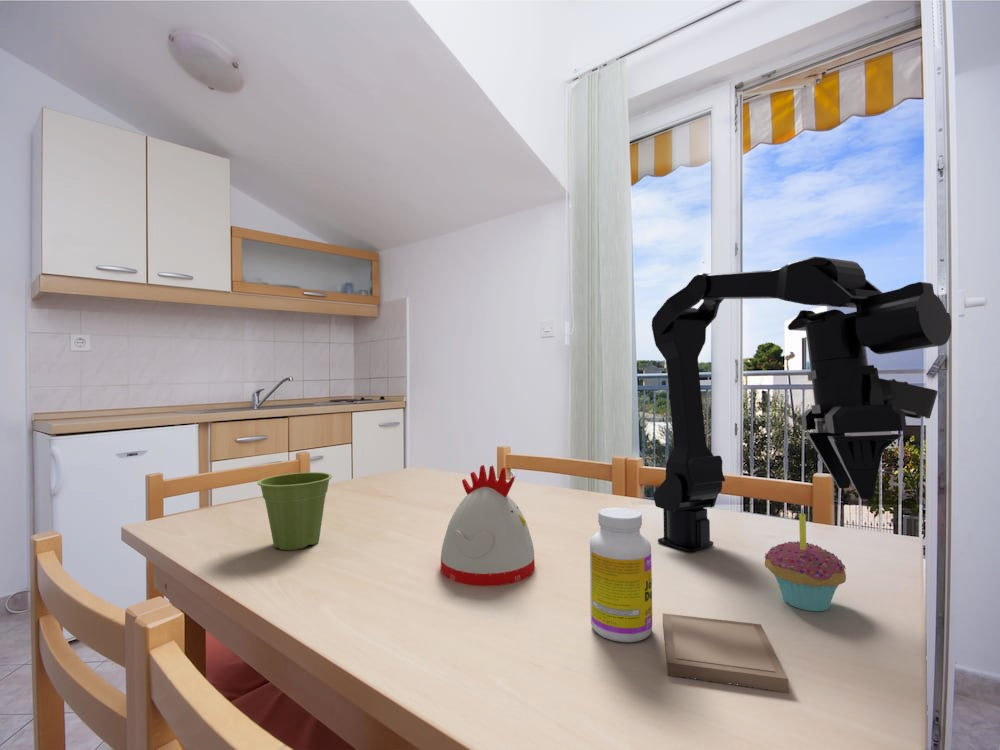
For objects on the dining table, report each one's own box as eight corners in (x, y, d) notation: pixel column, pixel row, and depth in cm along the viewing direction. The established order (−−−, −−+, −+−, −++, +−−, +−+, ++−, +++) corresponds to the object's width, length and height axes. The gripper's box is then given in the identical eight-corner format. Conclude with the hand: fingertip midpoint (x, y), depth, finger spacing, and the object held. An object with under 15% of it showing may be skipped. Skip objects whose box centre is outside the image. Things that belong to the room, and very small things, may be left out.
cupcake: (849, 626, 55) (847, 517, 55) (762, 608, 59) (760, 507, 59) (844, 596, 62) (842, 501, 62) (767, 582, 66) (766, 493, 67)
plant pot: (323, 529, 93) (322, 469, 93) (340, 546, 83) (340, 479, 83) (253, 541, 86) (252, 476, 86) (263, 561, 76) (262, 488, 76)
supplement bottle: (655, 648, 51) (654, 522, 51) (590, 642, 52) (588, 519, 52) (649, 617, 57) (648, 506, 57) (591, 612, 59) (590, 503, 59)
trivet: (662, 624, 56) (662, 612, 56) (761, 635, 53) (760, 623, 53) (667, 675, 46) (667, 661, 46) (788, 692, 43) (788, 678, 43)
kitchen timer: (517, 592, 65) (516, 477, 65) (424, 578, 69) (423, 471, 69) (545, 556, 78) (544, 460, 78) (464, 546, 82) (464, 456, 82)
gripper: (960, 342, 48) (986, 507, 46) (891, 362, 65) (908, 483, 63) (825, 354, 52) (844, 506, 50) (794, 370, 69) (808, 483, 67)
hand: (854, 493), depth 58 cm, fingers open, 9 cm apart
